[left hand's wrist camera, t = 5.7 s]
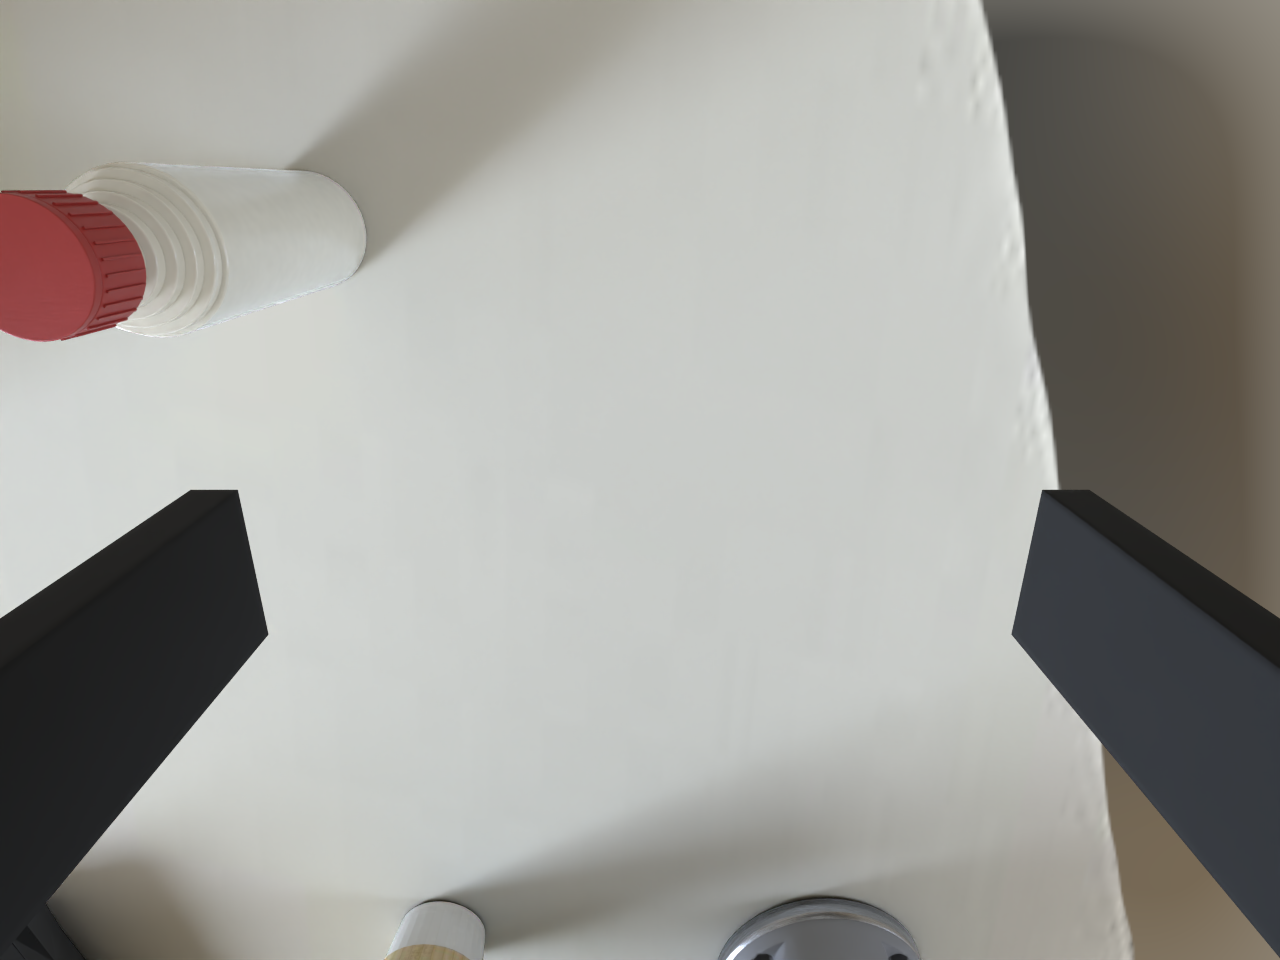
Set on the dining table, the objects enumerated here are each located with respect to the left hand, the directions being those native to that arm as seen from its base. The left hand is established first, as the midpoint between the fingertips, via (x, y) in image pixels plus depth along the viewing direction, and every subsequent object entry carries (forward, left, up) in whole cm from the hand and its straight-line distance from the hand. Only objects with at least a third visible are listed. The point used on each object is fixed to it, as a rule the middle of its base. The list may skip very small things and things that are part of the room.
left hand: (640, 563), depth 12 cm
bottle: (+4, +16, -28) cm, 33 cm away
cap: (+4, +16, -10) cm, 19 cm away
